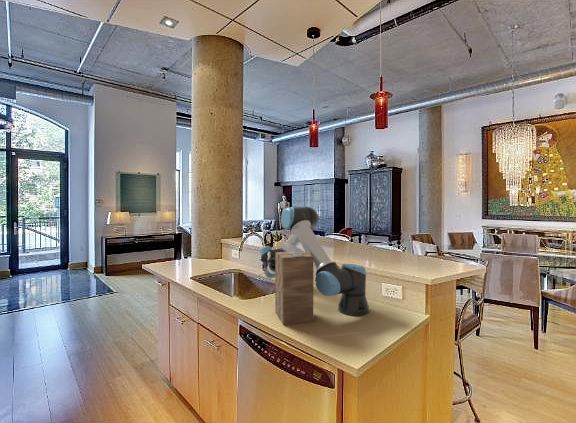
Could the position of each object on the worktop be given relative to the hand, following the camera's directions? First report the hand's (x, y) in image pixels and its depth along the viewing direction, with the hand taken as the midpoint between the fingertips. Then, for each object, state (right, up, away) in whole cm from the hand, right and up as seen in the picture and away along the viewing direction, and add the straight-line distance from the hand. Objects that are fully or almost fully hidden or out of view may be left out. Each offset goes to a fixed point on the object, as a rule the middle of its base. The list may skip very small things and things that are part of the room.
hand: (282, 253), depth 170 cm
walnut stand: (+6, -28, -20) cm, 35 cm away
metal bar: (+4, +3, -17) cm, 17 cm away
